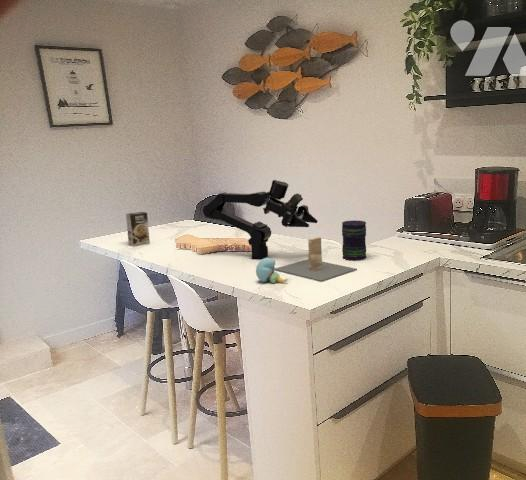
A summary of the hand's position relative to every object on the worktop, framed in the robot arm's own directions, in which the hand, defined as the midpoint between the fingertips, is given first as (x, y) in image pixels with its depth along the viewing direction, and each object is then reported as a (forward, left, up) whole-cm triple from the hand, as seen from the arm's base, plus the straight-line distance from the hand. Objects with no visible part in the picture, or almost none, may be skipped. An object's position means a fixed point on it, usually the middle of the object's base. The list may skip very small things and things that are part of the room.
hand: (313, 223), depth 206 cm
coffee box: (-87, +46, -16) cm, 100 cm away
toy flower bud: (-16, -27, -16) cm, 35 cm away
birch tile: (0, -13, -15) cm, 20 cm away
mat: (0, -13, -16) cm, 20 cm away
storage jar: (+17, +4, -16) cm, 23 cm away
